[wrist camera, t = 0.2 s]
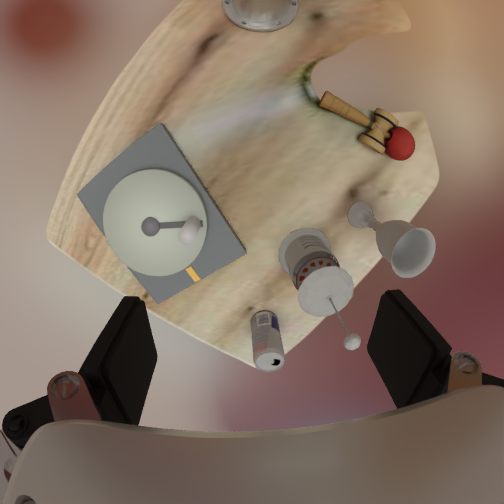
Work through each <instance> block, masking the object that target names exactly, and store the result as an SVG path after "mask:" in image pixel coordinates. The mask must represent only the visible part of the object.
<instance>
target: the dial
mask: <svg viewBox="0 0 504 504" xmlns="http://www.w3.org/2000/svg"><path fill="white" fill-rule="evenodd" d="M103 227H104V232H105V236H106V239H107V242H108V244H109V246H110V248H111V249H112V251H113V252H114V254H115V255H116V256H117V257H118V259H119V260H121V261H122V262H123V263H124V264H125V265H126V266H128V267H129V268H131V269H133V270H134V271H137V272H139V273H142V274H145V275H150V276H167V275H172V274H174V273H177V272H179V271H181V270H183V269H185V268H186V267H187V266H189V265H190V264H191V263H192V262H193V261H194V260H195V259H196V257H197V256H198V254H199V253H200V251H201V249H202V246H203V244H204V241H205V238H206V234H207V227H208V220H207V212H206V209H205V205H204V203H203V200H202V198H201V197H200V195H199V193H198V192H197V190H196V189H195V188H194V187H193V186H192V185H191V184H190V183H189V182H188V181H187V180H186V179H184V178H183V177H181V176H180V175H178V174H176V173H174V172H171V171H168V170H164V169H146V170H142V171H139V172H136V173H133V174H131V175H129V176H127V177H125V178H124V179H122V180H121V181H120V182H119V183H118V184H117V185H116V186H115V187H114V188H113V190H112V191H111V193H110V194H109V196H108V198H107V201H106V203H105V207H104V212H103Z"/></svg>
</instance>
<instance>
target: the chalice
mask: <svg viewBox="0 0 504 504" xmlns="http://www.w3.org/2000/svg"><path fill="white" fill-rule="evenodd" d="M373 216H374V215H373V211H372V208H371V206H370V205H369V204H368V203H367V202H364V201H359V202H356V203H355V204H353V205H352V206H351V208H350V209H349V212H348V220H349V222H350V224H351V225H352V226H354V227H356V228H364V227H367V226H368V227H370V228H372V227H373V230H375V231H376V241H377V245H378V249H379V251H380V253H381V254H382V256H383V257H385V258H386V259H387V260H388V261H389V262H390V263H391V264H392V268H393V270H394V271H395V273H396V274H397V275H399V276H400V277H405V278H409V277H414V276H416V275H418V274H420V273H421V272H422V271H424V270H425V269H426V268H427V266H428V265H429V264H430V263H431V261H432V258H433V256H434V252H435V239H434V237H433V235H432V233H430V232H429V231H428V230H427V229H423V228H416V227H414V226H413V225H411V224H409V223H408V222H406V221H402V220H392V221H387V222H384V223H380V222H378V221H376V219H375V218H373Z"/></svg>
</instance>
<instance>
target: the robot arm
mask: <svg viewBox="0 0 504 504" xmlns="http://www.w3.org/2000/svg"><path fill="white" fill-rule="evenodd" d="M227 3H228V4H227ZM293 5H294V6H293ZM223 9H224V12H225V14H226V16H227V17H228V18H229V20H230V21H232V22H233V23H234V24H236V25H237V26H239V27H241V28H244V29H246V30H251V31H256V32H269V31H275V30H278V29H281V28H283V27H285V26H287V25H288V24H289V23H291V22H292V21H293V19H294V18H295V16H296V14H297V12H298V0H223ZM243 24H246V25H243ZM277 24H278V25H277ZM367 350H368V353H369V355H370V357H371V359H372V361H373V363H374V365H375V366H376V368H377V370H378V372H379V374H380V376H381V378H382V380H383V382H384V383H385V385H386V387H387V389H388V391H389V393H390V395H391V397H392V399H393V401H394V403H395V405H396V407H397V409H396V410H392V411H388V412H385V413H380V414H376V415H372V416H368V417H363V418H358V419H354V420H348V421H343V422H338V423H332V424H326V425H319V426H312V427H305V428H295V429H285V430H273V431H255V432H254V431H253V432H204V431H186V430H174V429H162V428H153V427H144V426H138V424H139V421H140V418H141V414H142V410H143V407H144V403H145V399H146V396H147V392H148V389H149V386H150V382H151V379H152V375H153V372H154V369H155V366H156V362H157V351H156V348H155V344H154V340H153V336H152V332H151V328H150V324H149V319H148V315H147V310H146V306H145V302H144V301H143V300H140V298H139V297H136V296H124V298H123V299H122V300H121V302H120V304H119V305H118V307H117V308H116V310H115V311H114V313H113V315H112V316H111V318H110V320H109V321H108V323H107V324H106V326H105V328H104V329H103V331H102V332H101V334H100V335H99V337H98V339H97V340H96V342H95V344H94V345H93V347H92V349H91V351H90V352H89V354H88V356H87V358H86V359H85V361H84V363H83V365H82V367H81V368H80V370H79V372H78V373H77V372H73V371H65V372H61V373H59V374H57V375H55V376H54V377H53V378H52V379H51V380H50V382H49V383H48V386H47V394H48V395H46V396H44V397H41V398H39V399H37V400H34V401H32V402H29V403H27V404H24V405H22V406H19V407H17V408H15V409H12V410H11V411H9V412H8V413H7V414H6V415H5V417H4V419H3V423H2V430H0V504H504V380H503V379H500V378H497V377H494V376H491V375H488V374H485V373H482V367H481V363H480V361H479V360H478V359H477V358H476V357H475V356H474V355H472V354H470V353H468V352H463V351H461V352H456V353H454V354H453V356H452V357H451V355H450V352H451V350H452V348H451V347H450V345H449V344H448V343H447V342H446V340H445V339H444V338H443V337H442V336H441V335H440V333H439V332H438V331H437V330H436V329H435V328H434V327H433V325H432V324H431V323H430V322H429V321H428V320H427V319H426V317H425V316H424V315H423V314H422V313H421V312H420V311H419V310H418V309H417V307H416V306H414V304H413V303H412V302H411V301H410V300H409V299H408V298H407V297H406V296H405V295H404V294H403V292H401V290H398V289H397V290H387V291H386V292H385V294H383V295H382V296H381V299H380V303H379V307H378V311H377V314H376V318H375V321H374V325H373V329H372V332H371V335H370V338H369V342H368V345H367Z"/></svg>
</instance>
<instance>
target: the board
mask: <svg viewBox="0 0 504 504" xmlns="http://www.w3.org/2000/svg"><path fill="white" fill-rule="evenodd" d="M146 169H164V170H168V171H171V172H174V173H176V174H178V175H180V176H181V177H183V178H184V179H186V180H187V181H188V182H189V183H190V184H191V185H192V186H193V187H194V188H195V189H196V190H197V192H198V193H199V195H200V197H201V198H202V200H203V203H204V205H205V209H206V212H207V220H208V227H207V234H206V238H205V241H204V244H203V246H202V249H201V251H200V253H199V254H198V256H197V257H196V259H195V260H194V261H193V262H192V263H191V264H190V265H189V266H187V267H186V268H185V269H183V270H181V271H179V272H177V273H174V274H172V275H167V276H150V275H145V274H142V273H139V272H137V271H134V270H133V269H131V268H129V267H128V266H127V267H128V268H129V270H130V271H131V272H132V273H133V275H134V276H135V277H136V278H137V280H138V281H139V282H140V283H141V285H142V286H143V287H144V288H145V289H146V291H147V292H148V293H149V294H150V296H151V297H152V298H153V299H154V300H155V301H156V303H157V304H159V303H161V302H163V301H165V300H166V299H168V298H170V297H172V296H173V295H175V294H177V293H179V292H180V291H182V290H184V289H185V288H187V287H189V286H191V285H192V284H194V283H196V282H198V281H199V280H201V279H203V278H205V277H206V276H208V275H210V274H212V273H213V272H215V271H217V270H219V269H220V268H222V267H224V266H226V265H227V264H229V263H231V262H233V261H234V260H236V259H238V258H240V257H241V256H243V255H245V254H246V249H245V247H244V246H243V244H242V243H241V241H240V240H239V238H238V237H237V235H236V234H235V232H234V231H233V229H232V228H231V226H230V225H229V223H228V222H227V220H226V219H225V217H224V216H223V214H222V213H221V211H220V210H219V208H218V207H217V205H216V204H215V202H214V201H213V199H212V198H211V196H210V195H209V193H208V192H207V190H206V188H205V187H204V185H203V184H202V182H201V181H200V179H199V178H198V176H197V175H196V173H195V172H194V170H193V169H192V167H191V166H190V164H189V163H188V161H187V160H186V158H185V157H184V155H183V154H182V152H181V150H180V149H179V147H178V146H177V144H176V143H175V141H174V140H173V138H172V137H171V135H170V134H169V132H168V131H167V129H166V128H165V126H164V125H163V124H162V123H160V124H159V125H157V126H156V127H155V128H153V129H152V130H151V131H149V132H148V133H147V134H145V135H144V136H143V137H141V138H140V139H139V140H138V141H136V142H135V143H134V144H132V145H131V146H130V147H129V148H128V149H126V150H125V151H124V152H123V153H121V154H120V155H119V156H118V157H117V158H116V159H114V160H113V161H112V162H111V163H110V164H109V165H108V166H106V167H105V168H104V169H103V170H102V171H101V172H100V173H99V174H98V175H96V176H95V177H94V178H93V179H92V180H91V181H90V182H89V183H88V184H87V185H86V186H85V187H84V188H83V189H82V190H81V191H80V192H79V193H78V194H77V196H78V197H79V199H80V200H81V202H82V204H83V205H84V207H85V208H86V210H87V211H88V213H89V214H90V216H91V217H92V219H93V220H94V222H95V223H96V225H97V226H98V227H99V229H100V230H101V232H102V233H103V235H104V236H105V232H104V227H103V212H104V207H105V203H106V201H107V198H108V196H109V194H110V193H111V191H112V190H113V188H114V187H115V186H116V185H117V184H118V183H119V182H120V181H121V180H122V179H124V178H125V177H127V176H129V175H131V174H133V173H136V172H139V171H142V170H146ZM105 237H106V236H105Z"/></svg>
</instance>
